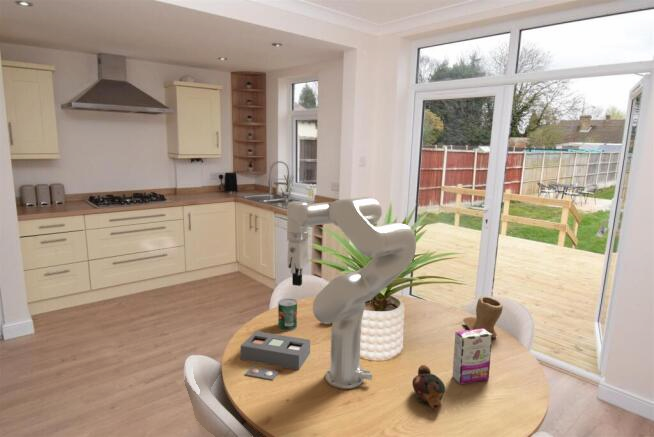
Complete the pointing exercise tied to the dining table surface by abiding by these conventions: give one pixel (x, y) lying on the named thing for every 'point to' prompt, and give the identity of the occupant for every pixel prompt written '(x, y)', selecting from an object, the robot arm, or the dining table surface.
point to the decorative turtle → (428, 387)
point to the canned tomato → (287, 314)
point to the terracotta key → (258, 341)
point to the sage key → (276, 343)
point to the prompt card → (261, 373)
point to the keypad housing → (275, 350)
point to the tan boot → (485, 315)
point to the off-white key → (294, 347)
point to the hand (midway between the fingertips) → (297, 284)
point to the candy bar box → (472, 355)
